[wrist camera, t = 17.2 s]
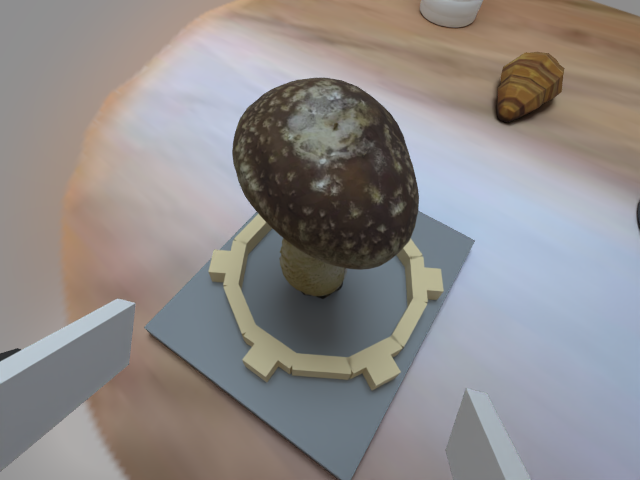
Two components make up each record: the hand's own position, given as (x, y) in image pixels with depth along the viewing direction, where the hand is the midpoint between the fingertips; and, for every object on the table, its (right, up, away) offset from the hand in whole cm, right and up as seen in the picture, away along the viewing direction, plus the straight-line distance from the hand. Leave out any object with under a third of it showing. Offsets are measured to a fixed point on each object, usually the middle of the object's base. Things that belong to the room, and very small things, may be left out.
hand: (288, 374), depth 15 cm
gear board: (+2, +2, +14) cm, 15 cm away
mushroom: (+1, +2, +13) cm, 14 cm away
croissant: (+25, +22, +30) cm, 45 cm away
